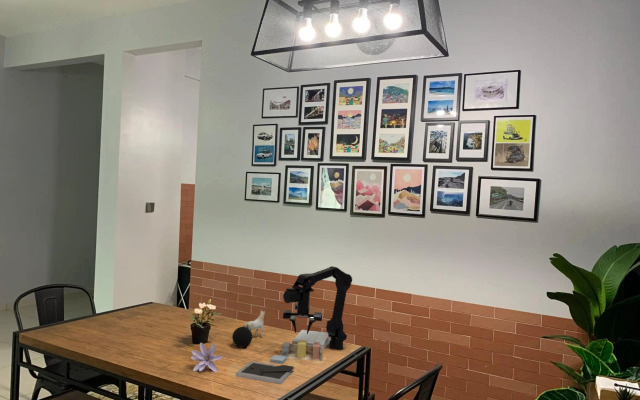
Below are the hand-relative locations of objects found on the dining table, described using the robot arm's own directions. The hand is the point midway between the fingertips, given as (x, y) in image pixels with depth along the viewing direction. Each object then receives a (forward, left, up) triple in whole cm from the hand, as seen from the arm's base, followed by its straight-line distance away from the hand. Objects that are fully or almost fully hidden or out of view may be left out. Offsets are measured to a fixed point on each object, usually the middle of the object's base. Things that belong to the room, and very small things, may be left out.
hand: (301, 333), depth 233 cm
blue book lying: (+9, +9, -12) cm, 18 cm away
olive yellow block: (-1, 0, -11) cm, 11 cm away
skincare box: (+4, -20, -10) cm, 22 cm away
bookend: (+7, 0, -11) cm, 13 cm away
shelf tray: (-1, 0, -12) cm, 12 cm away
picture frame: (+14, +22, -13) cm, 29 cm away
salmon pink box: (-8, 0, -11) cm, 13 cm away
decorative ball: (+30, -11, -12) cm, 35 cm away
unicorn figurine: (+28, -28, -12) cm, 42 cm away
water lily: (+41, +22, -12) cm, 48 cm away
